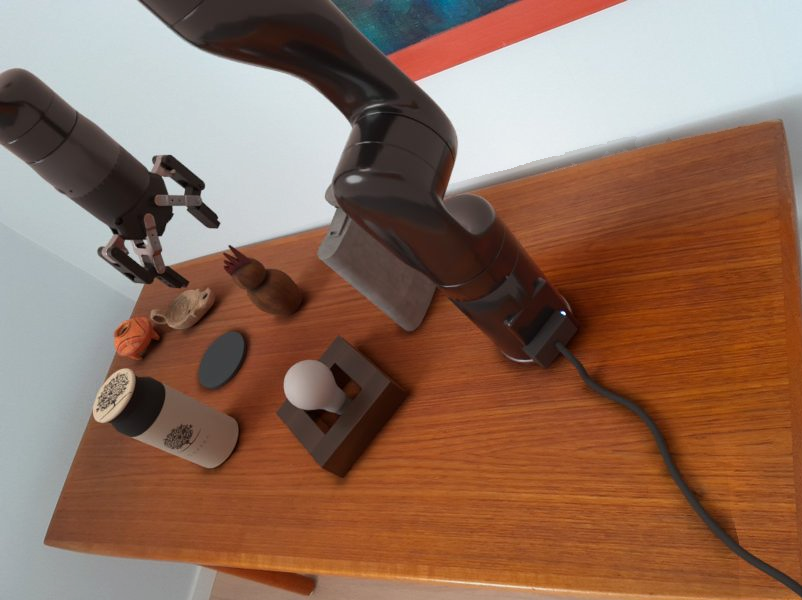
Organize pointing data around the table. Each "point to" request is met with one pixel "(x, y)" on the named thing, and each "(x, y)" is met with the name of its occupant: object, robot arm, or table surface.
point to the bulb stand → (358, 420)
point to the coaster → (222, 360)
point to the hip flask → (375, 270)
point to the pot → (134, 337)
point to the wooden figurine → (263, 284)
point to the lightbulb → (314, 388)
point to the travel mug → (165, 418)
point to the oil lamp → (185, 309)
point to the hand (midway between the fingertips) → (199, 254)
